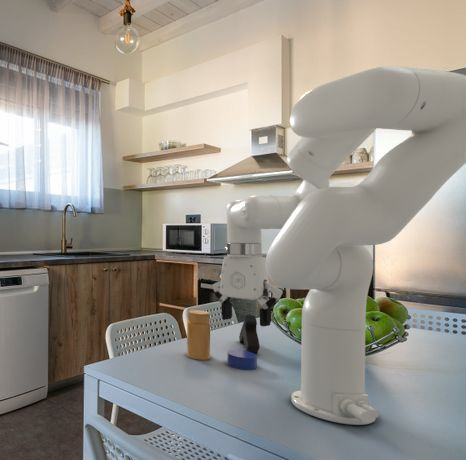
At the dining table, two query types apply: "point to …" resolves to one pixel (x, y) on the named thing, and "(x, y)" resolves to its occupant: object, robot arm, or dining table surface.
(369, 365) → the dining table surface
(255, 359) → the jar lid
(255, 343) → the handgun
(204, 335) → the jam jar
